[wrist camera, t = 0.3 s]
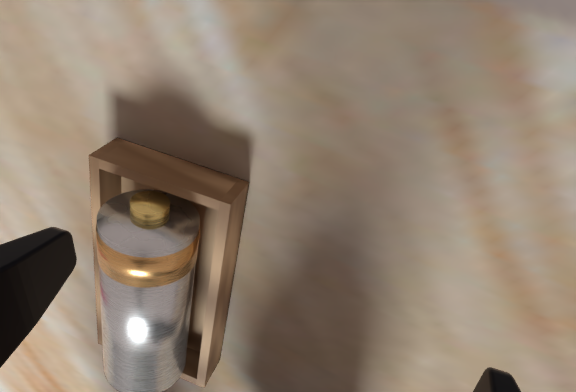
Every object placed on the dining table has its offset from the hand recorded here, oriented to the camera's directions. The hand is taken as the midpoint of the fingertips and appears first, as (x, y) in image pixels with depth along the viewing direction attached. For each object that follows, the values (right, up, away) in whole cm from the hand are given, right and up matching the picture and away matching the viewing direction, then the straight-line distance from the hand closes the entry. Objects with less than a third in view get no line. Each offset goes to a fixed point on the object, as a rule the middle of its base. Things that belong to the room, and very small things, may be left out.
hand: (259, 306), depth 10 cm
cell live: (-7, -3, +21) cm, 22 cm away
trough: (-7, -2, +21) cm, 22 cm away
